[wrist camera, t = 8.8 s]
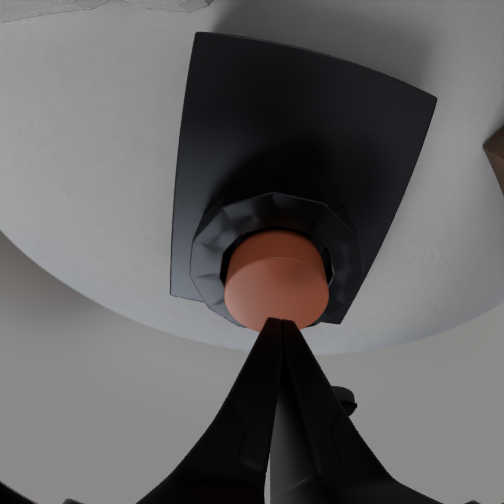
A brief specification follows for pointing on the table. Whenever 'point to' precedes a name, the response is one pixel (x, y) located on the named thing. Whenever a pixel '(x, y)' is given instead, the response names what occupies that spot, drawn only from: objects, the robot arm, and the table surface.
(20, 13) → the intercom
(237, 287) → the arm button
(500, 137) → the brown box with slot
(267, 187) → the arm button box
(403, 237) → the table surface
